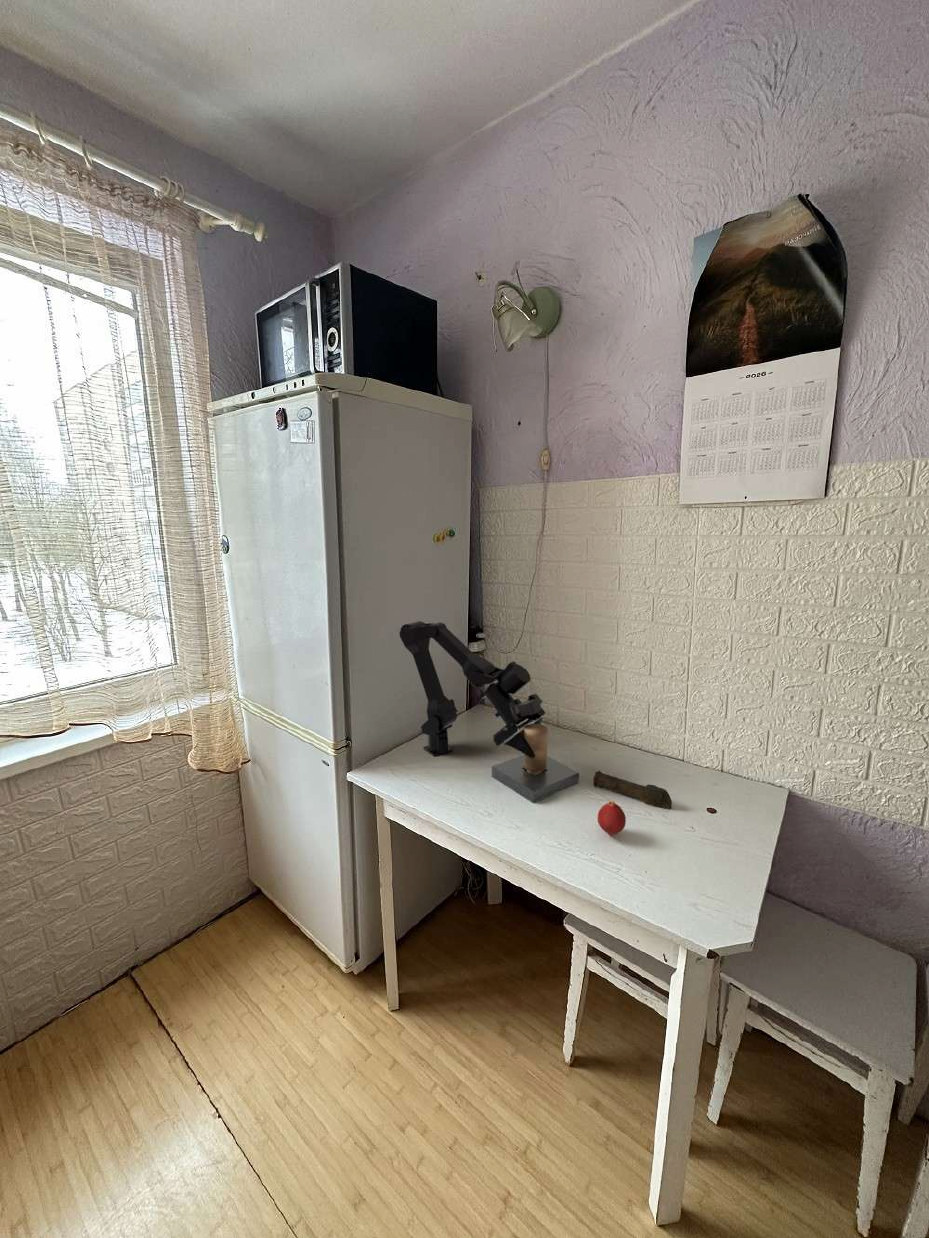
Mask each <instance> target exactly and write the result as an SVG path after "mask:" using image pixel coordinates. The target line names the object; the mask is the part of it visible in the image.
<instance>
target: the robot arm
mask: <svg viewBox="0 0 929 1238" xmlns="http://www.w3.org/2000/svg"><path fill="white" fill-rule="evenodd" d="M399 637H400V640H401V642H402V644H403V646H404V647H405V649H407V650H408V652H409V653H411V654H412V657H413V659H414V663H415V666H416V669H417V672H418V674H419V678H420V680H421V681H420V682H421V684H422V687H423V689H424V693H425V696H426V699H427V705H426V715H427V720H426V721H425V722H424V723H422V724H421V726H420V729H421V732H422V734H423V735H426V736H427V745H426V746H423V747H422V748H423V750H424V751H426V752H427V753H429V754H430V755H431V756H433V757H436V756H439V755H440V756H441V755H442V754H446V753H450V752H452V751H453V748H452V747H450V746H449V737H448V736H449V735H448V734H449V733H448V730H449V729H450V728H452V727H453V724H454V723H455V722H456V721H457V718H458V715H457V714H458V713H457V712H458V709H457V708H456V706H455V700H454V699H453V698H451V699H449V698H448V697H447V696H446V695H445V694H444V691H443V688H442V686H441V682H440V679H439V676H438V673H437V670H436V667H435V664H434V661H433V659H432V655H431V652H430V649H429V648H430V642H431V639H433V640H434V641H435V642H436V643H437V644H438V646H440V647H441V648H442V649H443V650H444V651H445V652H446V653H447V654H448V655H449V656H450V657H452V658H453V660H454V661H455V662H456V663H458V665H460V667H461V668H462V672H463V675H464V676H465V678H466V679H467V681H468V682H469V683H470V684H471V685H472V686H473V687H475V688H480V687H482V688H480V689H479V695H478V699H479V700H480V701H481V700H483V699H484V698H486V699H487V700H488V702H489V703H490V704H491V706H492V707H493V709H494V710H495V711H496V713H495V714H494V716H495V718H501V720H502V721H503V722H504V724H505V726H503V727H502V728H501V729H499V730H498V731H497V732H496V733H494V734H493V735H492V736H493V737H492V739H493V742H494V744H495V745H496V747H499V746H500V745H502V744H503V743H504V746H509V747H511V748H513V749H515V750H517V751H518V752H520V753H522V754H523V753H524V754H525V755H527V756H529V757H531V758H534V757H535V754H534V752H533V750H532V749H531V747H530V746H529V744H528V742H527V741H526V739H525V737H524V727H525V726H526V725H528V724H541V725H542V720H543V716H544V715H545V714H546V711H545V710H544V709H543V708H542V706H541V705H542V703H543V699H541V698H540V696H539V695H538V694H537V693H533V694H530V695H528V697H527V699H526V700H524V701H521V700H520V698H516V699H514V697H513V696H512V695H515V694H516V693H518V692H519V691H520V690H521V689H522V688H524V687H525V686H526V685H527V684H528V683H529V682H531V679H532V678H531V675H530V672H529V671H528V670H527V669H526V668H524V667H523V666H522V665H520V664H517V663H516V662H515V661H511V662H510V663H508V664H507V665H506V667H505V668H504V669H502V668H500V667H497V666H495V665H494V664H493V663H492V662H490V661H489V660H488V659H486V658H485V657H482V656H480V655H477V654H475V653H474V652H472V651H471V650H470V649H469V648H468V647H467V646H466V645H465V644H464V643H463V642H462V641H461V640H460V639H459V638H458V637H457V636H456V635H455V634H454V633H452V632H451V631H450V629H449V628H447V624H445V623H443V622H441V621H440V622H429V623H428V622H427V623H425V622H424V621H421V620H416V621H413V622H409V623H405V624H403V625H402V626H401V628H400V630H399ZM496 681H497V682H496ZM485 685H487V687H483V686H485ZM521 729H522V730H521ZM505 741H506V742H505Z"/></svg>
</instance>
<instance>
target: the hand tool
mask: <svg viewBox="0 0 929 1238" xmlns="http://www.w3.org/2000/svg"><path fill="white" fill-rule="evenodd" d="M592 781H593V786H594V787H598V788H599V789H605V790H610V791H613V792H616V793H618V794H622V795H624V796H628V797H631V798H633V799H638V800H640V801H643V802H644V804H645V805H648V806H650V807H655V808H659V809H667V810H671V809H672V807H673V801H672V799H671V796H670V794H669V791H667V789H665V788H663V787H659V786H656V785H654V784H646V785H643V784H642V785H641V784H638V783H636V782H632V781H628V780H625V779H622V778H619V777H617V776H613V775H610V774H607V773H603V772H602V771H601V770H597V771H596V772H595V773H594V775H593V780H592Z"/></svg>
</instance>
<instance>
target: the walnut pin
mask: <svg viewBox="0 0 929 1238" xmlns="http://www.w3.org/2000/svg"><path fill="white" fill-rule="evenodd" d="M523 729H524V737H525V739H526V741H527V742H528V744H529V746H530V747H531V749H532V750H533V752H534V754H535V757H534V758H531V757H529V756H527V755H525V754H524V753H522V755H523V767H524V768H525V769H526V770H527V772H529V773H530V774H532V775H534V776H535V775H538V774H540V773H542V771H544V770H545V769H546V764H547V756H548V754H547V753H548V731H549V730H548V727H547V726H545V725H544V724H542V723H541V724H528V725H526V726H525V727H523Z"/></svg>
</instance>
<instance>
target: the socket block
mask: <svg viewBox="0 0 929 1238" xmlns="http://www.w3.org/2000/svg"><path fill="white" fill-rule="evenodd" d="M491 777H492V778H493V779H495V780H496V781H498V782H499V783H501V784H502V785H503V786H505V787H507V788H509V789H510V790H512V791H513V792H514V793H516V794H519V795H520V796H522V797H523V798H524V799H526V800H528V801H530V802H531V803H532V804H534V803H537V802H538V801H541V800H543V799H546V798H548V797H550V796H552V795H555V794H557V793H560V792H562V791H564V790H567V789H569V788H571V787H574V786H576V785H578V784H579V783H580V782H579V781H580V772H579V771H577V770H575V769H573V768H571V767H569V766H568V765H565V764H563V763H562V762H560V761H557V760H556V759H553V758H551V757H550V756H548V755H547V764H546V769H545V770H544V771H542V773H540V774H538V775H535V776H534V775H532V774H530V773H529V772H527V770H526V769H525V768H524V767H523V754H522V755H519V756H516V757H514V758H511V759H507V760H505V761H502V762H500V763H499V762H498V763H497V764H494V765H492V766H491Z"/></svg>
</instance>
